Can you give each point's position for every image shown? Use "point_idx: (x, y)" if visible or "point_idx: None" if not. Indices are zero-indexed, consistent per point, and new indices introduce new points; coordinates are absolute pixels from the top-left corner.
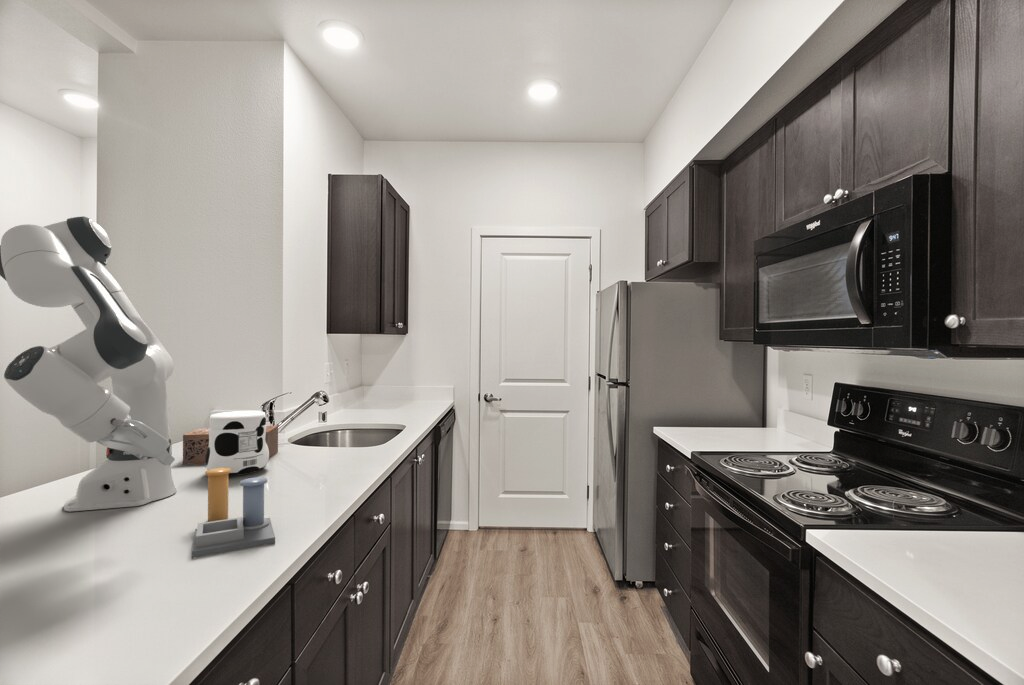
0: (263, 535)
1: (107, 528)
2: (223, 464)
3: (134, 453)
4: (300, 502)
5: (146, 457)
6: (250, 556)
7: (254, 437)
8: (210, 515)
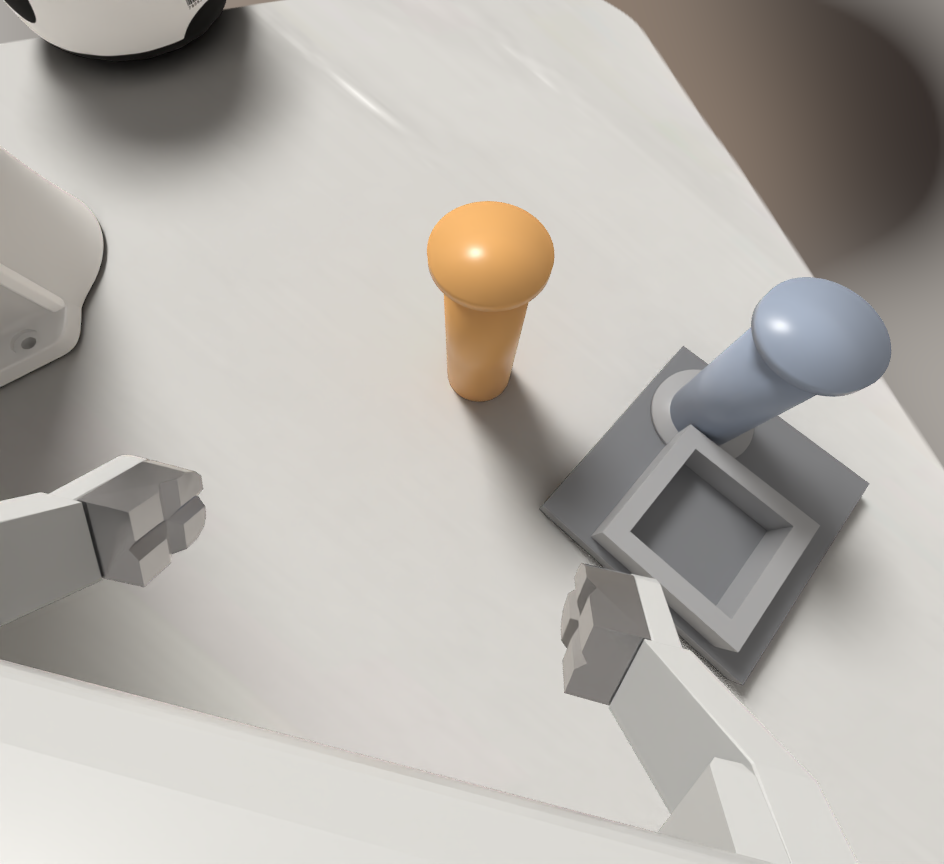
0: (820, 482)
1: None
2: (115, 14)
3: (62, 586)
4: (598, 190)
5: (197, 515)
6: (886, 601)
7: None
8: (479, 391)
